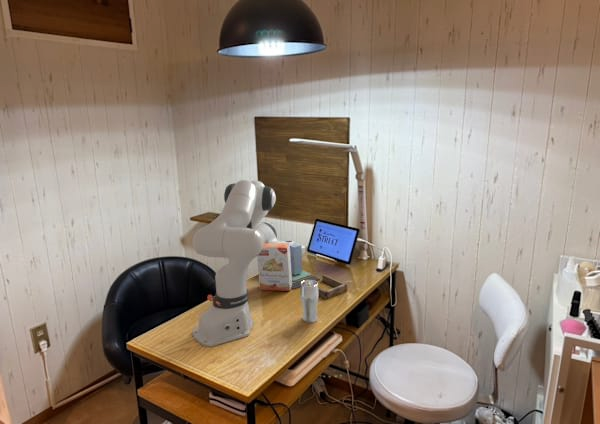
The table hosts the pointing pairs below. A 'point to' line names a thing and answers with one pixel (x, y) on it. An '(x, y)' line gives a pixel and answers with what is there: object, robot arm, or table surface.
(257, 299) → the table surface
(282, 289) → the cracker box
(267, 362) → the table surface
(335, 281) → the dark wooden tray
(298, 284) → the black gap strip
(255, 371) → the table surface
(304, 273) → the green felt pad
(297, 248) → the slate block
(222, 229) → the robot arm
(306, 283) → the beer glass
